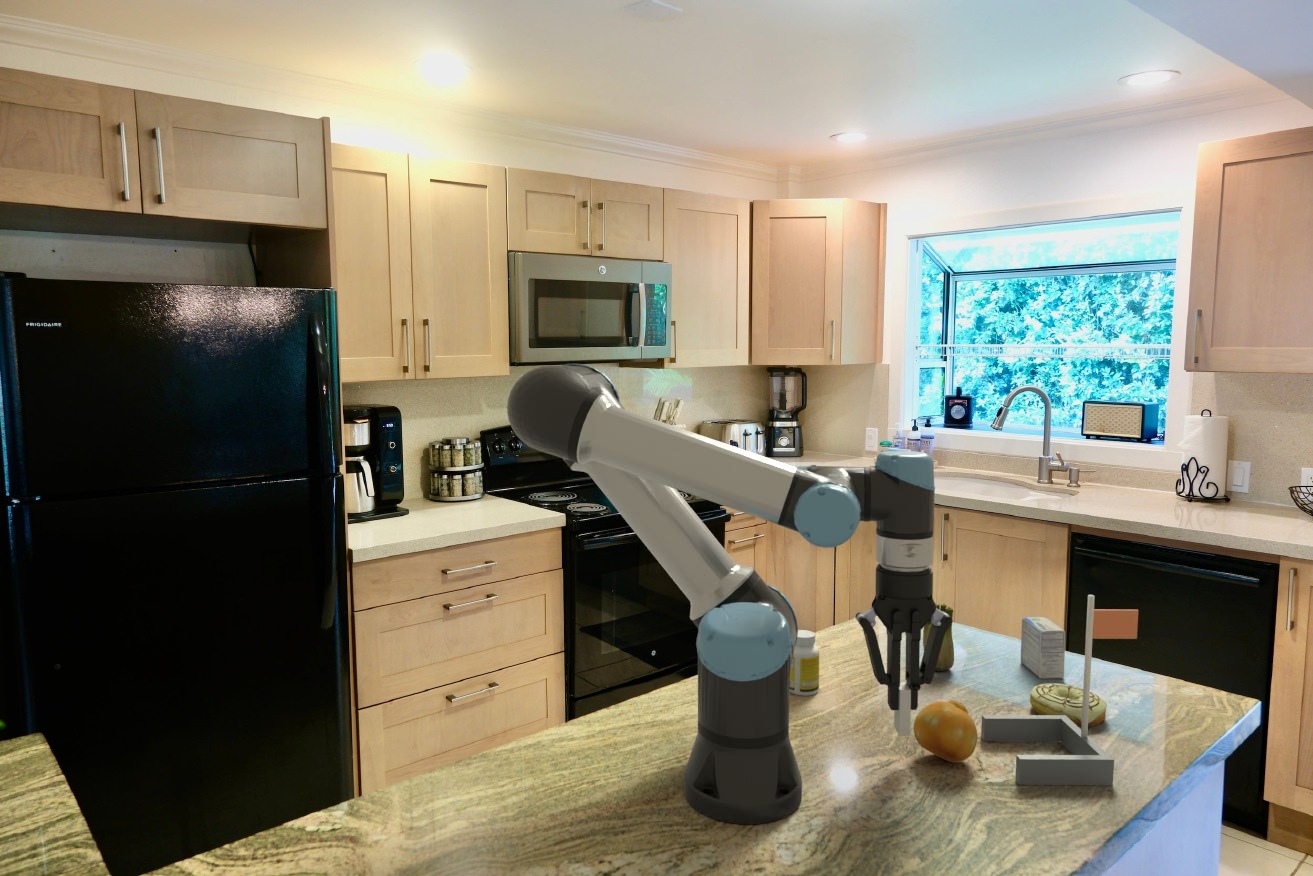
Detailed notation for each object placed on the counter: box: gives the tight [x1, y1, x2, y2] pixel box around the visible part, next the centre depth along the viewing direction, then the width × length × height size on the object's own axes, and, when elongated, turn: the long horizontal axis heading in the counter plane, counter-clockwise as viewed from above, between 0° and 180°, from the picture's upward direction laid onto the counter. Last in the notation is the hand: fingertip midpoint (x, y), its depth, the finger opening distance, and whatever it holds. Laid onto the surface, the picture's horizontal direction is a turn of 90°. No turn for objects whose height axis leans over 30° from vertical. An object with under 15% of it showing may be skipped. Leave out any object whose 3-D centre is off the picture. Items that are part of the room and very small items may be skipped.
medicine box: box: [1020, 616, 1066, 680], centre depth 148 cm, size 8×4×9 cm, turn 179°
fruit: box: [913, 699, 978, 763], centre depth 115 cm, size 8×8×8 cm
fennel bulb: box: [922, 602, 955, 672], centre depth 149 cm, size 6×5×12 cm
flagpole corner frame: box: [980, 594, 1139, 786], centre depth 114 cm, size 18×13×24 cm
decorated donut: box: [1029, 682, 1108, 727], centre depth 130 cm, size 10×11×4 cm
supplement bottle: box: [789, 629, 820, 697], centre depth 139 cm, size 5×5×10 cm
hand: (902, 731), depth 115 cm, fingers closed
